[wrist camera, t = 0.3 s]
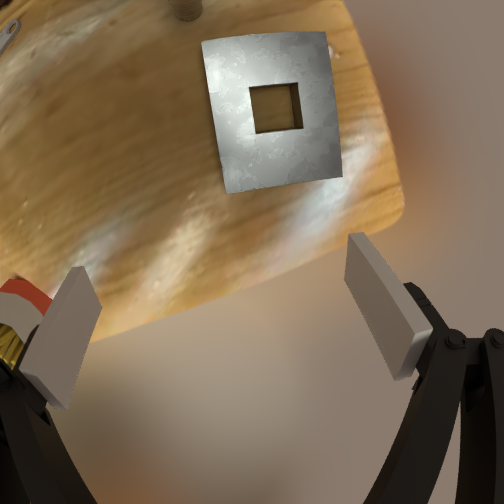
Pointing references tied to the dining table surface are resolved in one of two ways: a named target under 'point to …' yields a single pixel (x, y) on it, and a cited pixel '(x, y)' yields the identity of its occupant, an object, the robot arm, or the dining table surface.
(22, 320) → the french fries container
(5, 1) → the bolt
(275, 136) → the block
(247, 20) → the dining table surface
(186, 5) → the chuck key
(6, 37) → the adjustable wrench
